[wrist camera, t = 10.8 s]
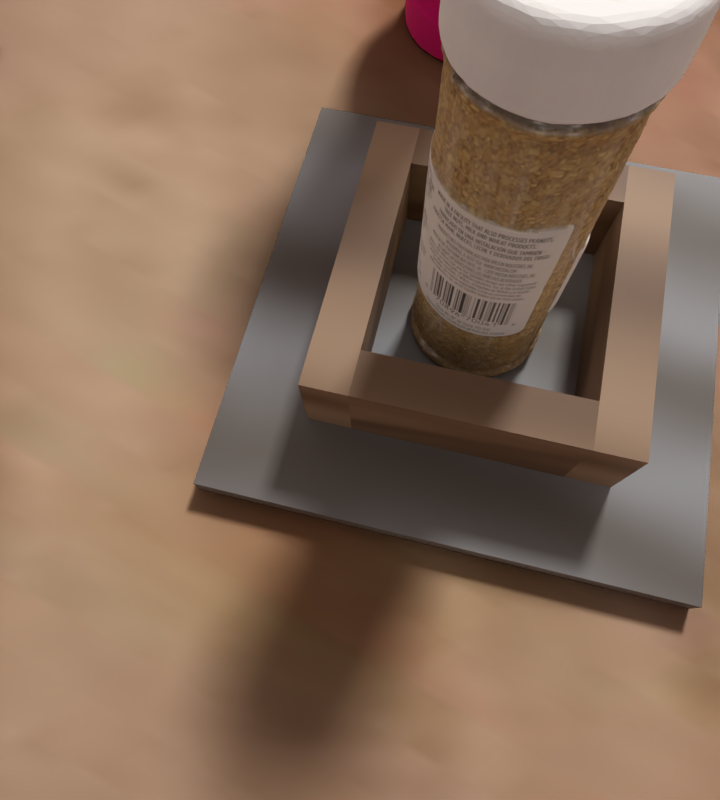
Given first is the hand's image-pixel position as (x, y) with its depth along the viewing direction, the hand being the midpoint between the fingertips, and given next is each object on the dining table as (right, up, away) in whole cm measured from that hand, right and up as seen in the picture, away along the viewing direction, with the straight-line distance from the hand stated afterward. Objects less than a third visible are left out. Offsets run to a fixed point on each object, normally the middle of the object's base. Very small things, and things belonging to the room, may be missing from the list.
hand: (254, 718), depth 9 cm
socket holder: (+6, +7, +14) cm, 17 cm away
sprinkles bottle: (+5, +7, +14) cm, 16 cm away
